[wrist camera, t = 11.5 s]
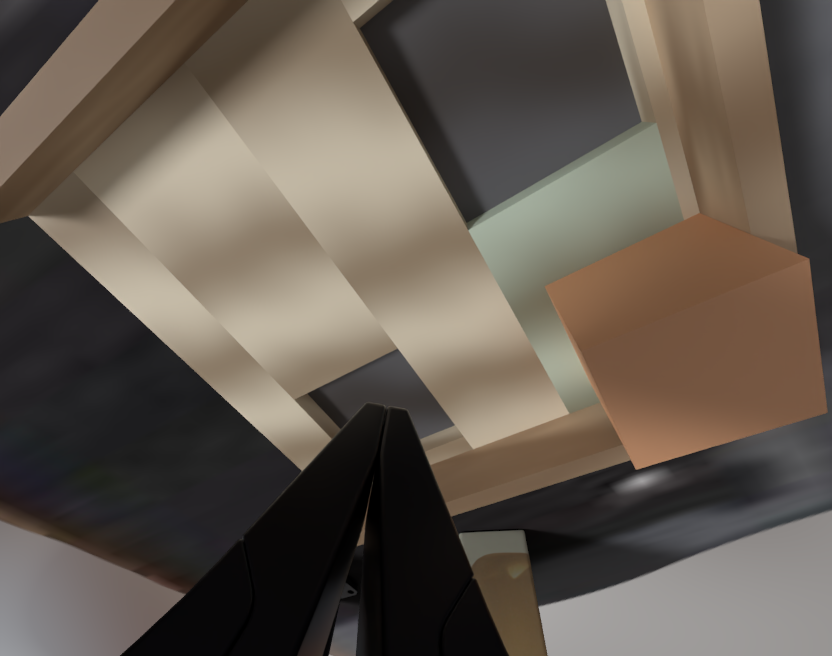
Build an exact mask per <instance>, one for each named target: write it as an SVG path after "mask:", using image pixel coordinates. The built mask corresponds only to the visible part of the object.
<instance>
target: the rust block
mask: <svg viewBox="0 0 832 656" xmlns="http://www.w3.org/2000/svg"><path fill="white" fill-rule="evenodd" d="M545 288H546V291H547V293H548V295H549V297H550V299H551V301H552V303H553V305H554V307H555V310H556V312H557V314H558V316H559V318H560V320H561V322H562V324H563V326H564V329H565V331H566V333H567V335H568V337H569V339H570V341H571V343H572V345H573V348H574V350H575V352H576V354H577V356H578V358H579V360H580V362H581V364H582V367H583V369H584V371H585V373H586V375H587V377H588V379H589V381H590V383H591V386H592V387H593V389H594V391H595V393H596V395H597V397H598V399H599V401H600V402H601V404H602V406H603V408H604V410H605V412H606V414H607V416H608V418H609V419H610V421H611V423H612V425H613V427H614V429H615V431H616V433H617V434H618V436H619V438H620V440H621V442H622V444H623V446H624V448H625V450H626V451H627V453H628V455H629V457H630V459H631V461H632V463H633V465H634V466H635V468H636V469H640V468H643V467H646V466H650V465H653V464H657V463H660V462H663V461H667V460H670V459H673V458H677V457H680V456H684V455H687V454H690V453H694V452H697V451H700V450H704V449H707V448H710V447H714V446H717V445H721V444H724V443H727V442H731V441H734V440H737V439H741V438H744V437H747V436H751V435H754V434H758V433H761V432H764V431H768V430H771V429H774V428H778V427H781V426H784V425H788V424H791V423H795V422H798V421H801V420H805V419H808V418H811V417H815V416H818V415H821V414H825V413H828V412H827V404H826V395H825V387H824V378H823V370H822V362H821V353H820V345H819V336H818V328H817V320H816V311H815V303H814V294H813V286H812V278H811V269H810V261H809V258H806V257H804V256H802V255H799V254H797V253H794V252H792V251H790V250H787V249H785V248H782V247H780V246H778V245H775V244H773V243H770V242H768V241H766V240H763V239H761V238H758V237H756V236H754V235H751V234H749V233H746V232H744V231H742V230H739V229H737V228H734V227H732V226H730V225H727V224H725V223H722V222H720V221H718V220H715V219H713V218H710V217H708V216H706V215H703V214H701V213H698V214H696V215H694V216H692V217H690V218H688V219H686V220H684V221H681V222H679V223H677V224H675V225H673V226H671V227H669V228H667V229H665V230H662V231H660V232H658V233H656V234H654V235H652V236H650V237H648V238H646V239H643V240H641V241H639V242H637V243H635V244H633V245H631V246H629V247H627V248H624V249H622V250H620V251H618V252H616V253H614V254H612V255H610V256H608V257H605V258H603V259H601V260H599V261H597V262H595V263H593V264H591V265H588V266H586V267H584V268H582V269H580V270H578V271H576V272H574V273H572V274H569V275H567V276H565V277H563V278H561V279H559V280H557V281H555V282H553V283H550V284H548V285H546V286H545Z"/></svg>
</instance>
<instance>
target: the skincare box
mask: <svg viewBox="0 0 832 656" xmlns="http://www.w3.org/2000/svg"><path fill="white" fill-rule="evenodd" d="M459 538H460V540H461V543H462V545H463V548H464V550H465V553H466V555H467V558H468V560H469V563H470V565H471V567H472V570H473V572H474V576H473V578H475V579H476V580H477V582H478V584H479V587H480V589H481V592H482V594H483V597H484V599H485V602H486V604H487V607H488V609H489V611H490V614H491V616H492V618H493V620H494V623H495V625H496V627H497V630H498V632H499V634H500V637H501V639H502V641H503V644H504V646H505V648H506V650H507V652H508V654H509V656H547V650H546V645H545V640H544V634H543V629H542V623H541V618H540V613H539V608H538V603H537V597H536V592H535V587H534V581H533V575H532V569H531V563H530V558H529V554H528V548H527V543H526V538H525V533H524V531H523V530H510V531H485V532H467V533H466V532H464V533H460V534H459Z"/></svg>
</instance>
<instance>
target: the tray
mask: <svg viewBox="0 0 832 656" xmlns="http://www.w3.org/2000/svg"><path fill="white" fill-rule="evenodd" d="M698 213H701V214H703V215H706V216H708V217H710V218H713V219H715V220H718V221H720V222H722V223H725V224H727V225H730V226H732V227H734V228H737V229H739V230H742V231H744V232H746V233H749V234H751V235H754V236H756V237H758V238H761V239H763V240H766V241H768V242H770V243H773V244H775V245H778V246H780V247H782V248H785V249H787V250H790V251H792V252H794V253H797V246H796V240H795V233H794V226H793V220H792V213H791V207H790V200H789V193H788V187H787V180H786V174H785V167H784V160H783V154H782V147H781V140H780V134H779V127H778V121H777V114H776V107H775V101H774V94H773V88H772V81H771V74H770V68H769V61H768V54H767V48H766V41H765V35H764V28H763V21H762V15H761V8H760V2H759V0H99V1H98V2H97V3H96V5H95V6H94V7H93V8H92V9H91V10H90V12H89V13H88V14H87V15H86V16H85V18H84V19H83V20H82V21H81V22H80V23H79V25H78V26H77V27H76V28H75V29H74V31H73V32H72V33H71V34H70V35H69V36H68V38H67V39H66V40H65V41H64V42H63V43H62V45H61V46H60V47H59V48H58V49H57V51H56V52H55V53H54V54H53V55H52V56H51V58H50V59H49V60H48V61H47V62H46V64H45V65H44V66H43V67H42V68H41V69H40V71H39V72H38V73H37V74H36V75H35V76H34V78H33V79H32V80H31V81H30V82H29V84H28V85H27V86H26V87H25V88H24V89H23V91H22V92H21V93H20V94H19V95H18V97H17V98H16V99H15V100H14V101H13V102H12V104H11V105H10V106H9V107H8V108H7V110H6V111H5V112H4V113H3V114H2V115H1V117H0V223H2V222H6V221H10V220H14V219H17V218H21V217H25V216H29V217H30V218H31V219H32V220H33V221H34V222H35V223H36V224H38V225H39V226H40V227H41V228H42V229H43V230H44V231H45V232H46V233H47V234H48V235H49V236H50V237H52V238H53V239H54V240H55V241H56V242H57V243H58V244H59V245H60V246H61V247H62V248H63V249H64V250H65V251H67V252H68V253H69V254H70V255H71V256H72V257H73V258H74V259H75V260H76V261H77V262H78V263H79V264H81V265H82V266H83V267H84V268H85V269H86V270H87V271H88V272H89V273H90V274H91V275H92V276H93V277H94V278H96V279H97V280H98V281H99V282H100V283H101V284H102V285H103V286H104V287H105V288H106V289H107V290H108V291H110V292H111V293H112V294H113V295H114V296H115V297H116V298H117V299H118V300H119V301H120V302H121V303H122V304H123V305H125V306H126V307H127V308H128V309H129V310H130V311H131V312H132V313H133V314H134V315H135V316H136V317H137V318H139V319H140V320H141V321H142V322H143V323H144V324H145V325H146V326H147V327H148V328H149V329H150V330H151V331H152V332H154V333H155V334H156V335H157V336H158V337H159V338H160V339H161V340H162V341H163V342H164V343H165V344H166V345H168V346H169V347H170V348H171V349H172V350H173V351H174V352H175V353H176V354H177V355H178V356H179V357H180V358H182V359H183V360H184V361H185V362H186V363H187V364H188V365H189V366H190V367H191V368H192V369H193V370H194V371H195V372H197V373H198V374H199V375H200V376H201V377H202V378H203V379H204V380H205V381H206V382H207V383H208V384H209V385H211V386H212V387H213V388H214V389H215V390H216V391H217V392H218V393H219V394H220V395H221V396H222V397H223V398H224V399H226V400H227V401H228V402H229V403H230V404H231V405H232V406H233V407H234V408H235V409H236V410H237V411H238V412H240V413H241V414H242V415H243V416H244V417H245V418H246V419H247V420H248V421H249V422H250V423H251V424H252V425H253V426H255V427H256V428H257V429H258V430H259V431H260V432H261V433H262V434H263V435H264V436H265V437H266V438H267V439H269V440H270V441H271V442H272V443H273V444H274V445H275V446H276V447H277V448H278V449H279V450H280V451H281V452H282V453H284V454H285V455H286V456H287V457H288V458H289V459H290V460H291V461H292V462H293V463H294V464H295V465H296V466H298V467H299V468H300V469H301V470H302V471H303V470H304V469H305V468H306V466H307V465H308V464H309V463H310V462H311V461H312V460H313V459H314V458H315V457H316V456H317V455H318V453H319V452H320V451H321V450H322V449H323V448H324V447H325V446H326V445H327V444H328V443H329V442H330V441H331V439H332V438H333V437H334V436H335V435H336V434H337V433H338V432H339V431H340V430H341V429H342V428H343V427H344V425H345V424H346V423H347V422H348V421H349V420H350V419H351V418H352V417H353V416H354V415H355V414H356V412H357V411H358V410H359V409H360V408H361V407H362V406H363V405H364V404H365V403H367V402H372V403H377V404H382V405H385V406H386V410H387V408H388V407H389V406H393V407H399V408H404V409H407V410H408V411H409V413H410V416H411V418H412V421H413V423H414V426H415V428H416V431H417V433H418V436H419V438H420V441H421V443H422V446H423V448H424V451H425V453H426V456H427V458H428V461H429V463H430V466H431V468H432V471H433V473H434V476H435V478H436V480H437V483H438V485H439V488H440V490H441V493H442V495H443V498H444V500H445V503H446V505H447V508H448V510H449V513H450V515H451V516H454V515H457V514H460V513H463V512H467V511H470V510H473V509H476V508H479V507H482V506H486V505H489V504H492V503H495V502H498V501H502V500H505V499H508V498H511V497H514V496H517V495H521V494H524V493H527V492H530V491H533V490H537V489H540V488H543V487H546V486H549V485H552V484H556V483H559V482H562V481H565V480H568V479H572V478H575V477H578V476H581V475H584V474H587V473H591V472H594V471H597V470H600V469H603V468H606V467H610V466H613V465H616V464H619V463H622V462H626V461H629V460H631V459H630V457H629V455H628V453H627V451H626V450H625V448H624V446H623V444H622V442H621V440H620V438H619V436H618V434H617V433H616V431H615V429H614V427H613V425H612V423H611V421H610V419H609V418H608V416H607V414H606V412H605V410H604V408H603V406H602V404H601V402H600V401H599V399H598V397H597V395H596V393H595V391H594V389H593V387H592V386H591V383H590V381H589V379H588V377H587V375H586V373H585V371H584V369H583V367H582V364H581V362H580V360H579V358H578V356H577V354H576V352H575V350H574V348H573V345H572V343H571V341H570V339H569V337H568V335H567V333H566V331H565V329H564V326H563V324H562V322H561V320H560V318H559V316H558V314H557V312H556V310H555V307H554V305H553V303H552V301H551V299H550V297H549V295H548V293H547V291H546V288H545V286H546V285H548V284H550V283H553V282H555V281H557V280H559V279H561V278H563V277H565V276H567V275H569V274H572V273H574V272H576V271H578V270H580V269H582V268H584V267H586V266H588V265H591V264H593V263H595V262H597V261H599V260H601V259H603V258H605V257H608V256H610V255H612V254H614V253H616V252H618V251H620V250H622V249H624V248H627V247H629V246H631V245H633V244H635V243H637V242H639V241H641V240H643V239H646V238H648V237H650V236H652V235H654V234H656V233H658V232H660V231H662V230H665V229H667V228H669V227H671V226H673V225H675V224H677V223H679V222H681V221H684V220H686V219H688V218H690V217H692V216H694V215H696V214H698ZM797 254H798V253H797ZM385 415H386V414H385ZM372 483H373V482H372ZM371 488H372V487H371ZM370 493H371V492H370ZM369 498H370V497H369ZM368 504H369V502H368ZM367 509H368V507H367ZM366 516H367V512H366ZM366 516H365V521H364V524H363V528H362V531H361V534H360V538H359V541H358V544H357V546H358V545H362V544H364V534H365V524H366Z"/></svg>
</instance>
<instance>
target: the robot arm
mask: <svg viewBox="0 0 832 656" xmlns="http://www.w3.org/2000/svg"><path fill="white" fill-rule="evenodd" d="M385 414H386V415H385ZM372 482H373V483H372ZM371 487H372V488H371ZM370 492H371V493H370ZM369 497H370V498H369ZM368 502H369V504H368ZM367 507H368V509H367ZM366 512H367V516H366ZM365 516H366V524H365V534H364V548H363V562H362V577H361V591H360V605H359V619H358V633H357V648H356V656H509V654H508V652H507V650H506V648H505V646H504V644H503V641H502V639H501V637H500V634H499V632H498V630H497V627H496V625H495V623H494V620H493V618H492V616H491V614H490V611H489V609H488V607H487V604H486V602H485V599H484V597H483V594H482V592H481V589H480V587H479V584H478V582H477V580H476V579H475V578H473V576H474V572H473V570H472V567H471V565H470V563H469V560H468V558H467V555H466V553H465V550H464V548H463V545H462V543H461V540H460V538H459V535H458V533H457V530H456V528H455V525H454V523H453V520H452V518H451V515H450V513H449V510H448V508H447V505H446V503H445V500H444V498H443V495H442V493H441V490H440V488H439V485H438V483H437V480H436V478H435V476H434V473H433V471H432V468H431V466H430V463H429V461H428V458H427V456H426V453H425V451H424V448H423V446H422V443H421V441H420V438H419V436H418V433H417V431H416V428H415V426H414V423H413V421H412V418H411V416H410V413H409V411H408V410H407V409H404V408H399V407H393V406H389V407H388V408H387V410H386V406H385V405H382V404H377V403H372V402H367V403H365V404H364V405H363V406H362V407H361V408H360V409H359V410H358V411H357V412H356V414H355V415H354V416H353V417H352V418H351V419H350V420H349V421H348V422H347V423H346V424H345V425H344V427H343V428H342V429H341V430H340V431H339V432H338V433H337V434H336V435H335V436H334V437H333V438H332V439H331V441H330V442H329V443H328V444H327V445H326V446H325V447H324V448H323V449H322V450H321V451H320V452H319V453H318V455H317V456H316V457H315V458H314V459H313V460H312V461H311V462H310V463H309V464H308V465H307V466H306V468H305V469H304V470H303V471H302V472H301V473H300V474H299V475H298V476H297V477H296V478H295V479H294V480H293V482H292V483H291V484H290V485H289V486H288V487H287V488H286V489H285V490H284V491H283V492H282V493H281V494H280V496H279V497H278V498H277V499H276V500H275V501H274V502H273V503H272V504H271V505H270V506H269V507H268V508H267V510H266V511H265V512H264V513H263V514H262V515H261V516H260V517H259V518H258V519H257V520H256V521H255V523H254V524H253V525H252V526H251V527H250V528H249V529H248V530H247V531H246V532H245V533H244V534H243V540H242V539H239V540H238V541H237V542H236V543H235V544H234V545H233V546H232V547H231V548H230V549H229V550H228V551H227V552H226V553H225V555H224V556H223V557H222V558H221V559H220V560H219V561H218V562H217V563H216V564H215V565H214V566H213V567H212V568H211V569H210V570H209V571H208V572H207V573H206V574H205V575H204V576H203V577H202V578H201V579H200V581H199V582H198V583H197V584H196V585H195V586H194V587H193V588H192V589H191V590H190V591H189V592H188V593H187V594H186V595H185V596H184V597H183V598H182V599H181V600H180V601H179V602H177V604H175V605H174V606H173V607H172V608H171V609H170V610H169V611H168V612H167V613H166V614H165V615H164V616H163V617H162V618H160V619H159V620H158V621H157V622H156V623H155V624H154V625H153V626H152V627H151V628H150V629H149V630H148V631H147V632H145V634H143V635H142V636H141V637H140V638H139V639H138V640H137V641H136V642H135V643H134V644H132V645H131V646H130V647H129V648H128V649H127V650H126V651H125V652H124V653H122V654H121V655H120V656H329V651H330V646H331V642H332V637H333V632H334V627H335V622H336V618H337V613H338V608H339V603H340V599H342V598H346V597H350V596H353V595H356V594H357V592H358V585H357V584H355V583H354V582H353V581H352V580H351V579H349V578H348V577H347V576H348V573H349V569H350V566H351V563H352V560H353V557H354V554H355V550H356V547H357V544H358V541H359V538H360V534H361V531H362V528H363V524H364V521H365Z"/></svg>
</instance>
